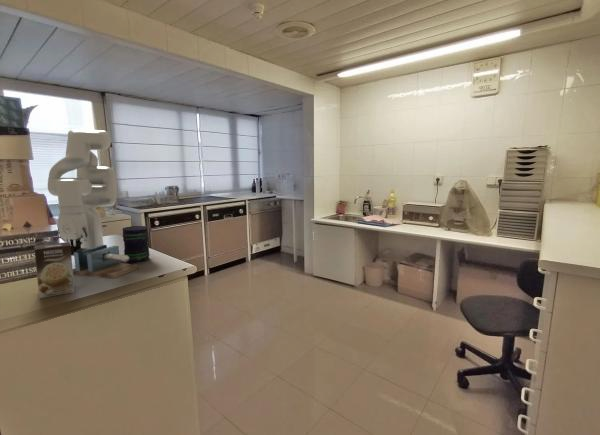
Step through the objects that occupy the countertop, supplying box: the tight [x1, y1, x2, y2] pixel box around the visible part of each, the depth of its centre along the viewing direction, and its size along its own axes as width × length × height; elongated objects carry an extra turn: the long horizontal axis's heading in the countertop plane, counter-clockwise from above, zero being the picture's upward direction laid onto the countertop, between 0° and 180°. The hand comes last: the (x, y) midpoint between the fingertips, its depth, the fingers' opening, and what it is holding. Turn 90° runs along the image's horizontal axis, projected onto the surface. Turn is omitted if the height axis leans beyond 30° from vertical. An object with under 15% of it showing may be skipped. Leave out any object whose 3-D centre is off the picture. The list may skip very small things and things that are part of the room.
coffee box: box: [33, 241, 76, 299], centre depth 96 cm, size 9×6×16 cm
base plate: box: [73, 262, 138, 279], centre depth 118 cm, size 20×12×2 cm, turn 78°
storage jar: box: [122, 225, 150, 265], centre depth 131 cm, size 10×10×15 cm
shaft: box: [76, 248, 129, 263], centre depth 118 cm, size 22×5×5 cm, turn 78°
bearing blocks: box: [73, 244, 121, 273], centre depth 118 cm, size 8×13×7 cm, turn 168°
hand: (76, 254), depth 120 cm, fingers closed
